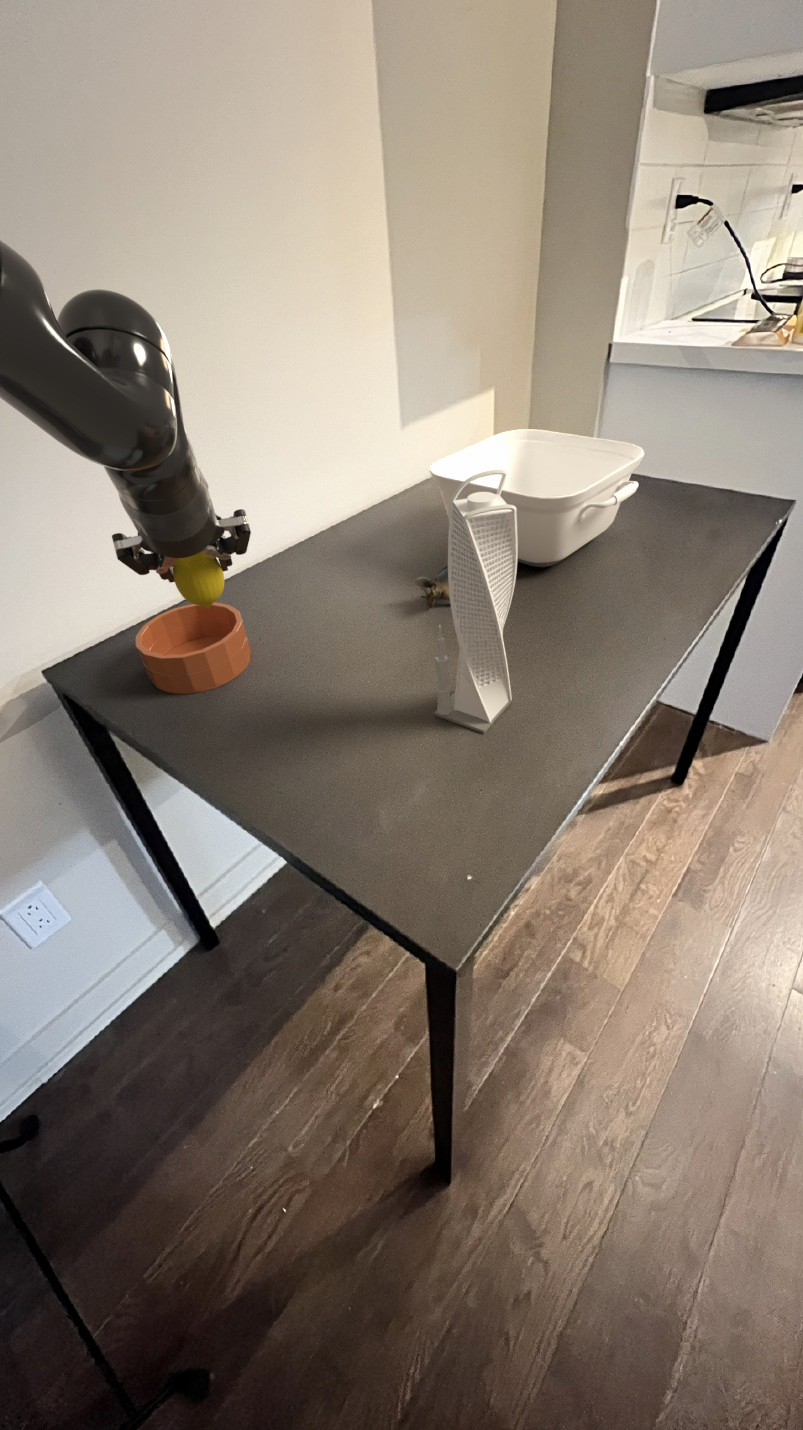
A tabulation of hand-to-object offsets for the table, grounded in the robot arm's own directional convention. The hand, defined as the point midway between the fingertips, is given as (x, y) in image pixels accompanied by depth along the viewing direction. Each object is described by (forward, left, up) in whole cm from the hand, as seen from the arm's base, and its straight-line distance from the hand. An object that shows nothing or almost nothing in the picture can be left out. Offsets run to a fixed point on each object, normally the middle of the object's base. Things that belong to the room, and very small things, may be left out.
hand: (197, 568), depth 74 cm
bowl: (-7, +7, -18) cm, 21 cm away
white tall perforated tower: (+33, -5, -18) cm, 38 cm away
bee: (+29, +22, -18) cm, 40 cm away
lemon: (+1, -2, -4) cm, 5 cm away
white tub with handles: (+44, +42, -18) cm, 63 cm away
